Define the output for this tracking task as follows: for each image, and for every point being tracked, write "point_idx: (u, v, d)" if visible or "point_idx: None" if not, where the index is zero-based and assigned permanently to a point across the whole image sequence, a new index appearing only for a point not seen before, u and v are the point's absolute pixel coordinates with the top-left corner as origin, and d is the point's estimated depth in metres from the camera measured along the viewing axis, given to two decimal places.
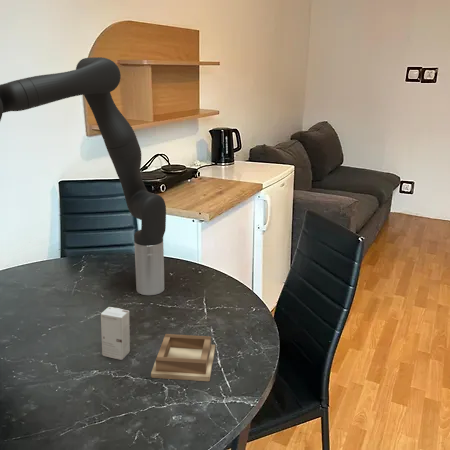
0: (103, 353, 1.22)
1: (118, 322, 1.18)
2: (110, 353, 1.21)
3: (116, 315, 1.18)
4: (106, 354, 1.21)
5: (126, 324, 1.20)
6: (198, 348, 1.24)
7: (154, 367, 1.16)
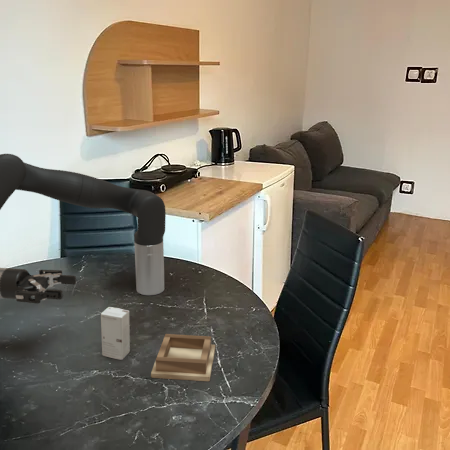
0: (103, 353, 1.22)
1: (118, 322, 1.18)
2: (110, 353, 1.21)
3: (116, 315, 1.18)
4: (106, 354, 1.21)
5: (126, 324, 1.20)
6: (198, 348, 1.24)
7: (154, 367, 1.16)
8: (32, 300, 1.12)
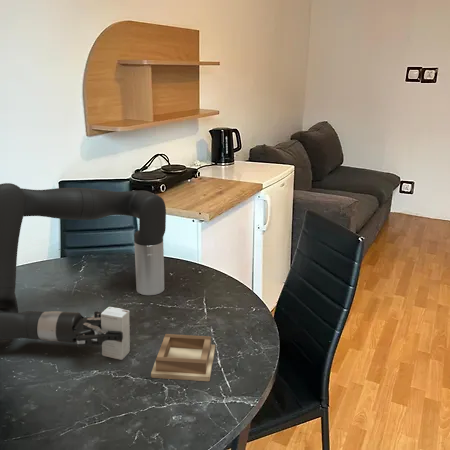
0: (103, 353, 1.22)
1: (118, 322, 1.18)
2: (110, 353, 1.21)
3: (116, 314, 1.18)
4: (106, 354, 1.21)
5: (126, 324, 1.20)
6: (198, 348, 1.24)
7: (154, 367, 1.16)
8: (94, 343, 1.16)
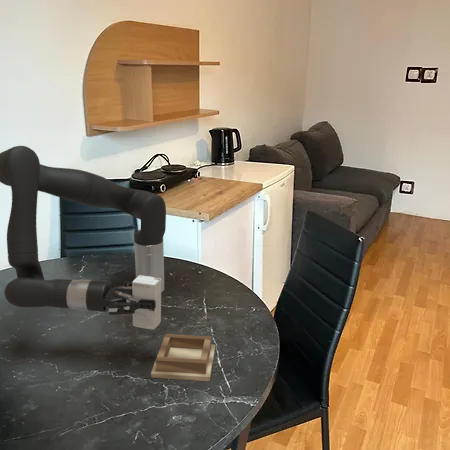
0: (134, 323, 1.17)
1: (151, 290, 1.13)
2: (141, 323, 1.16)
3: (148, 282, 1.13)
4: (137, 324, 1.17)
5: (158, 292, 1.16)
6: (198, 348, 1.24)
7: (154, 367, 1.16)
8: (126, 311, 1.12)
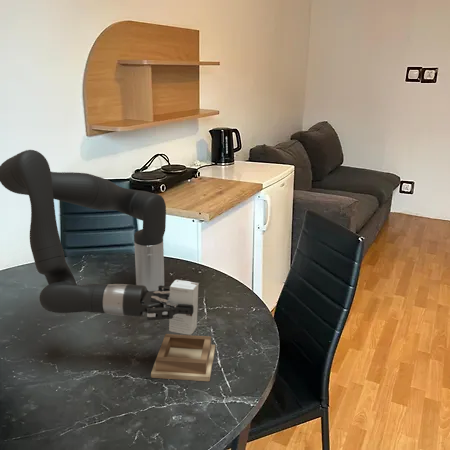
0: (170, 328, 1.15)
1: (189, 295, 1.12)
2: (178, 328, 1.15)
3: (186, 287, 1.12)
4: (174, 329, 1.15)
5: (196, 297, 1.14)
6: (198, 348, 1.24)
7: (154, 367, 1.16)
8: (165, 316, 1.10)
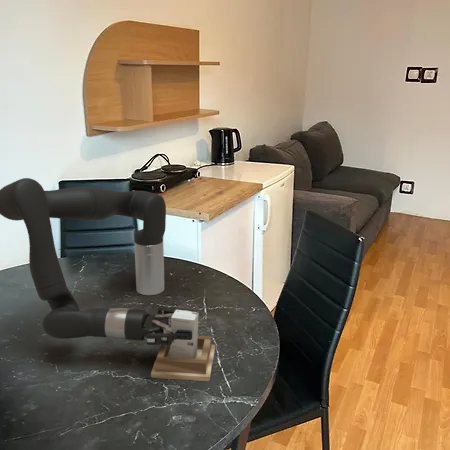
0: (171, 357, 1.18)
1: (190, 325, 1.14)
2: (180, 357, 1.17)
3: (187, 317, 1.15)
4: None
5: (196, 327, 1.17)
6: (198, 348, 1.24)
7: (154, 367, 1.16)
8: (164, 342, 1.12)
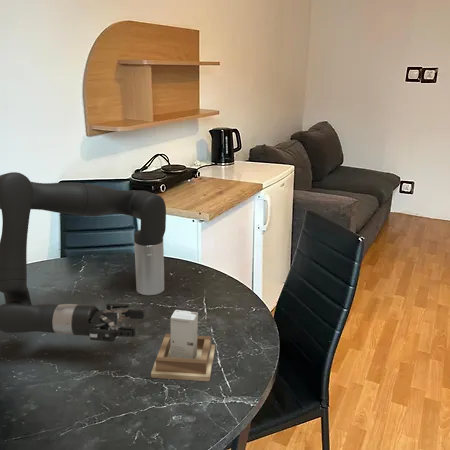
0: (171, 357, 1.18)
1: (189, 325, 1.14)
2: None
3: (187, 317, 1.15)
4: None
5: (196, 327, 1.17)
6: (198, 348, 1.24)
7: (154, 367, 1.16)
8: (106, 338, 1.12)
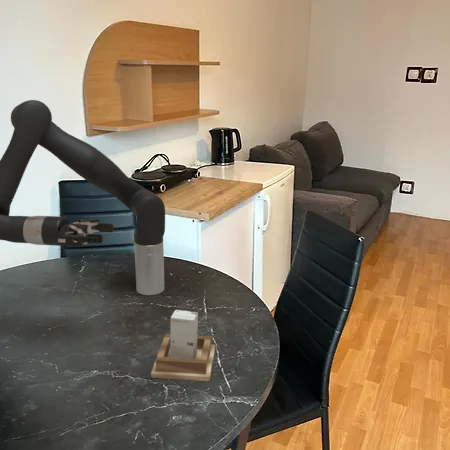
0: (171, 357, 1.18)
1: (189, 325, 1.14)
2: None
3: (187, 317, 1.15)
4: None
5: (196, 327, 1.17)
6: (198, 348, 1.24)
7: (154, 367, 1.16)
8: (74, 243, 1.16)
